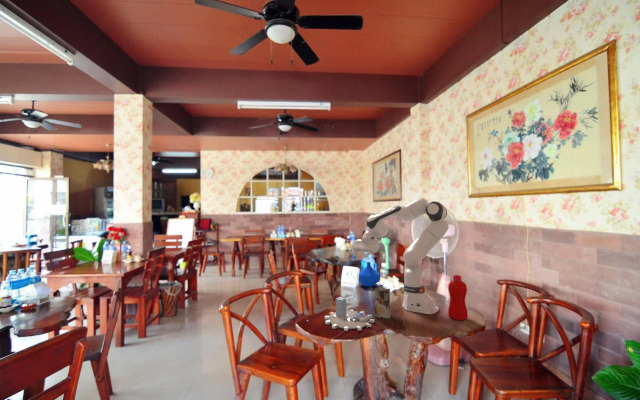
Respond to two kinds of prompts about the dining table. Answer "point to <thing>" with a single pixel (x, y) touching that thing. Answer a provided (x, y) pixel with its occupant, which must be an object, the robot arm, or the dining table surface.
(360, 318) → the sprocket
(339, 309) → the drive pin
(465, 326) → the dining table surface
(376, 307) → the coffee box
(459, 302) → the water bottle
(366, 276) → the vase
